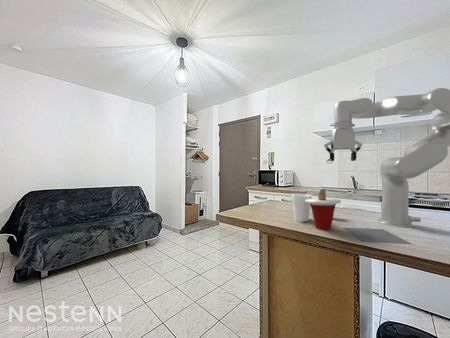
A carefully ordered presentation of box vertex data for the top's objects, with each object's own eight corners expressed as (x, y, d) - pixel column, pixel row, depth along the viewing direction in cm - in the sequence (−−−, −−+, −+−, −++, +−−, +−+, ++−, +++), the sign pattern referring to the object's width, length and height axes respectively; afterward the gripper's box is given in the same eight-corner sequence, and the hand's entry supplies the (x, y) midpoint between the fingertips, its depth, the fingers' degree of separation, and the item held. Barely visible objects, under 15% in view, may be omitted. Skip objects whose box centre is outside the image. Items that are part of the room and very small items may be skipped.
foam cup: (314, 223, 94) (314, 196, 94) (295, 222, 95) (295, 196, 94) (306, 217, 104) (306, 193, 104) (289, 217, 104) (289, 193, 104)
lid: (332, 200, 91) (332, 188, 92) (346, 203, 77) (346, 190, 78) (301, 200, 93) (301, 189, 94) (309, 204, 80) (309, 191, 80)
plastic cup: (322, 224, 92) (322, 199, 92) (342, 231, 82) (342, 203, 82) (303, 226, 89) (303, 200, 89) (322, 234, 79) (322, 205, 78)
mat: (383, 230, 83) (383, 229, 83) (412, 245, 67) (412, 243, 67) (342, 228, 86) (342, 227, 86) (361, 242, 70) (361, 241, 70)
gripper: (358, 127, 99) (357, 160, 100) (322, 128, 102) (321, 161, 103) (366, 124, 92) (365, 160, 92) (327, 125, 95) (326, 160, 95)
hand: (342, 160), depth 97 cm, fingers open, 9 cm apart
